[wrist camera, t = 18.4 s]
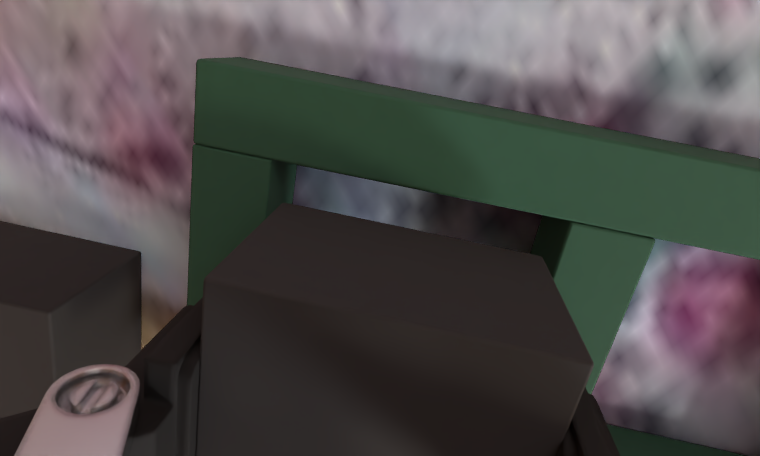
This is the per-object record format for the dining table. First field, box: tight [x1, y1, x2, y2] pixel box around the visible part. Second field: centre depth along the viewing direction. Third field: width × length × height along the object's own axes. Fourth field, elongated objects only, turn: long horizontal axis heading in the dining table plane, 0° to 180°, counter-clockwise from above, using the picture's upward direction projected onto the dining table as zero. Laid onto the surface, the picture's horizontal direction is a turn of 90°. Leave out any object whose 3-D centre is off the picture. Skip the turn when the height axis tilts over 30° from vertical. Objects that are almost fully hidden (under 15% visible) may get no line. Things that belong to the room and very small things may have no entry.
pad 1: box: [0, 221, 141, 418], centre depth 15 cm, size 6×6×4 cm
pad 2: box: [195, 203, 594, 456], centre depth 10 cm, size 6×6×4 cm
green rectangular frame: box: [187, 57, 760, 456], centre depth 14 cm, size 11×20×2 cm, turn 80°
